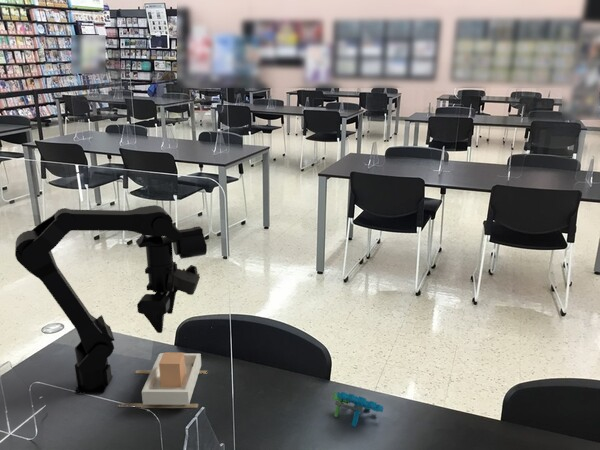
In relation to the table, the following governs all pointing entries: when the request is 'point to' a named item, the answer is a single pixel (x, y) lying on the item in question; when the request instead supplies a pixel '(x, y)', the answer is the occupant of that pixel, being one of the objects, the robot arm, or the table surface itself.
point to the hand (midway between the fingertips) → (165, 322)
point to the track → (159, 405)
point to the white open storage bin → (172, 395)
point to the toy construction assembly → (358, 403)
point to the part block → (172, 369)
